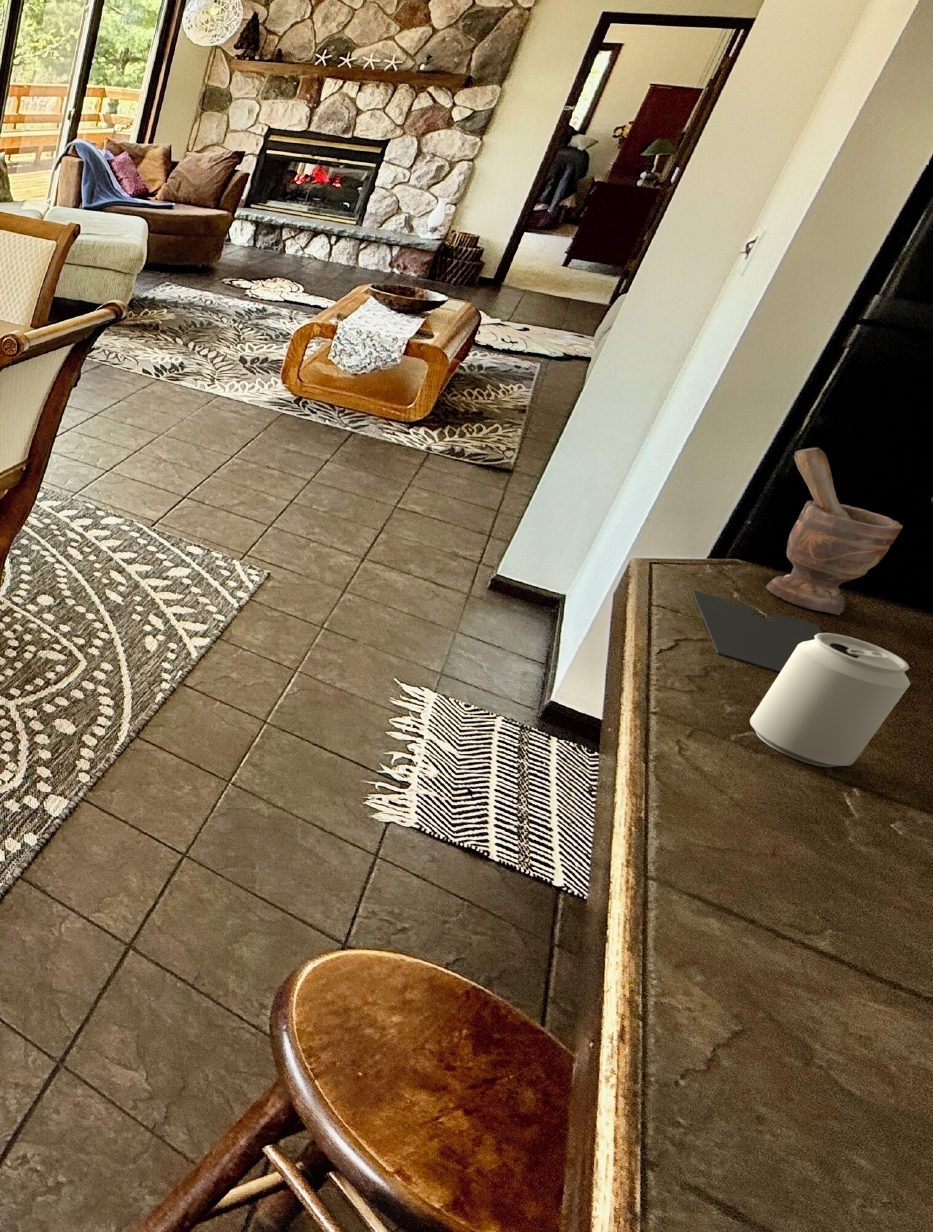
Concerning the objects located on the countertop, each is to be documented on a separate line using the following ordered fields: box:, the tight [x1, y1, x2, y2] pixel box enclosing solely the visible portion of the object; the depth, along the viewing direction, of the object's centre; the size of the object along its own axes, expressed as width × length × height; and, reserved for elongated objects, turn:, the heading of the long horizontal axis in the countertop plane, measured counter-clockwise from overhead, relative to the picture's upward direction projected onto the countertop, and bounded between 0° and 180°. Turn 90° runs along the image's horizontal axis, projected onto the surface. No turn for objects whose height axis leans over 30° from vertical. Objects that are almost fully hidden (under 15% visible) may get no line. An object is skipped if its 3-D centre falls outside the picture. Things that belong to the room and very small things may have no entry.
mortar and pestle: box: [765, 447, 904, 616], centre depth 121 cm, size 12×9×20 cm
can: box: [749, 632, 911, 768], centre depth 91 cm, size 8×8×12 cm
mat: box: [691, 589, 823, 674], centre depth 113 cm, size 12×20×1 cm, turn 142°
